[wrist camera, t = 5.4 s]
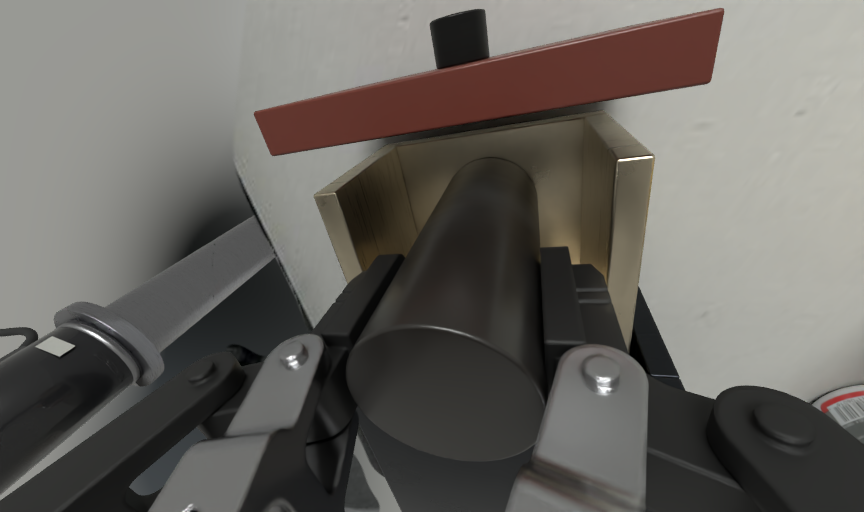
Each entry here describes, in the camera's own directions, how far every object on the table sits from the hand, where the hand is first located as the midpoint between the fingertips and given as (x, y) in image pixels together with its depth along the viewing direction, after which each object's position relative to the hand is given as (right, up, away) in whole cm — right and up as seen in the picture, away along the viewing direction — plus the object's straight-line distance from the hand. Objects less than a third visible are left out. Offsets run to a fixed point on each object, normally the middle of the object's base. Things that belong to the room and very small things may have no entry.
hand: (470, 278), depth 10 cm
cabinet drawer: (+2, +4, +5) cm, 7 cm away
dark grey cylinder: (+1, +3, +5) cm, 6 cm away
